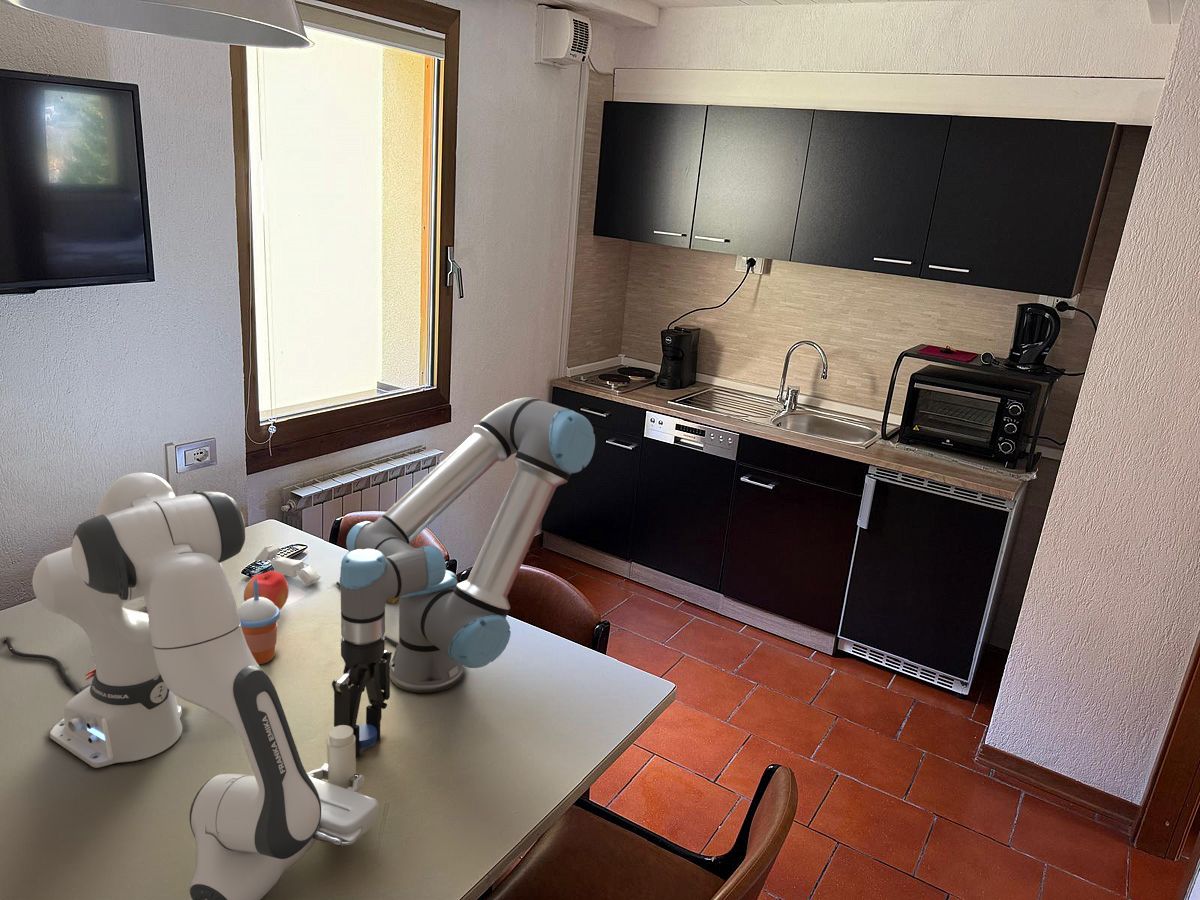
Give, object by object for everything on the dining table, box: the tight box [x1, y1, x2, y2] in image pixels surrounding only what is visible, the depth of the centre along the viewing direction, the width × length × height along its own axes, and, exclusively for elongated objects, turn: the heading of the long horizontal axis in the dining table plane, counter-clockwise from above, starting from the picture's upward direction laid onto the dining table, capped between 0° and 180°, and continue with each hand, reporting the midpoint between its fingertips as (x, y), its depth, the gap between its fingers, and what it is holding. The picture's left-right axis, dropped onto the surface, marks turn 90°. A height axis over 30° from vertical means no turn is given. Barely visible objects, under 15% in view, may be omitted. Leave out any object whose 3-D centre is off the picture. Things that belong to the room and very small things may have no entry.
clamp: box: [254, 544, 322, 587], centre depth 219 cm, size 20×4×7 cm, turn 62°
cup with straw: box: [237, 580, 281, 665], centre depth 181 cm, size 9×9×18 cm
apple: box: [243, 570, 289, 611], centre depth 199 cm, size 10×10×10 cm
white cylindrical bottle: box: [326, 725, 357, 789], centre depth 140 cm, size 4×4×15 cm
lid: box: [357, 723, 377, 750], centre depth 157 cm, size 5×5×2 cm
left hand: (344, 772), depth 141 cm, fingers closed on white cylindrical bottle, 4 cm apart
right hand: (362, 746), depth 158 cm, fingers closed on lid, 5 cm apart
